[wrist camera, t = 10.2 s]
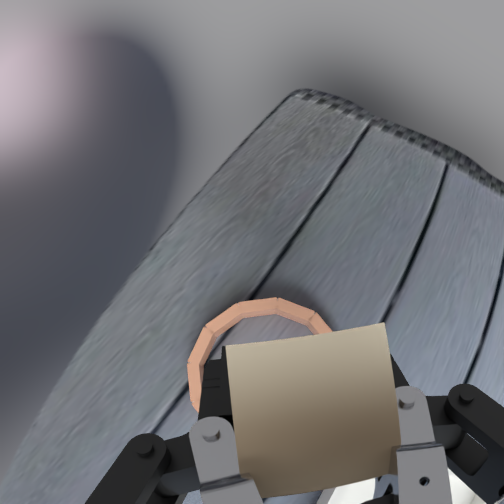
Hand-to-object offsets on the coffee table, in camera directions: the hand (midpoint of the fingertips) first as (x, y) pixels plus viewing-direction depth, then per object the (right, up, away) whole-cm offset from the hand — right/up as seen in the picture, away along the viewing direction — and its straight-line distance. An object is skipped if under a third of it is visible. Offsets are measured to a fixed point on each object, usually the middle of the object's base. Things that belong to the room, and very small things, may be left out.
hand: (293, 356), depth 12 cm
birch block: (0, -3, +3) cm, 5 cm away
